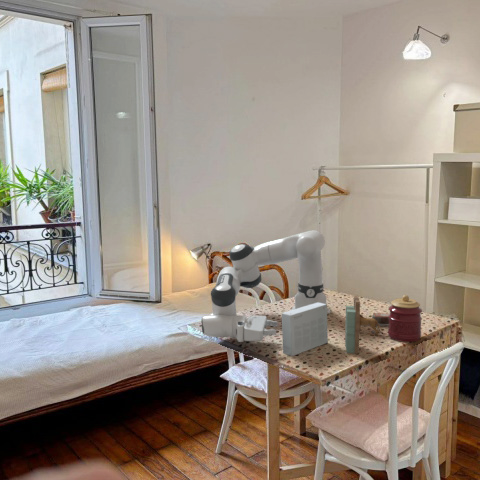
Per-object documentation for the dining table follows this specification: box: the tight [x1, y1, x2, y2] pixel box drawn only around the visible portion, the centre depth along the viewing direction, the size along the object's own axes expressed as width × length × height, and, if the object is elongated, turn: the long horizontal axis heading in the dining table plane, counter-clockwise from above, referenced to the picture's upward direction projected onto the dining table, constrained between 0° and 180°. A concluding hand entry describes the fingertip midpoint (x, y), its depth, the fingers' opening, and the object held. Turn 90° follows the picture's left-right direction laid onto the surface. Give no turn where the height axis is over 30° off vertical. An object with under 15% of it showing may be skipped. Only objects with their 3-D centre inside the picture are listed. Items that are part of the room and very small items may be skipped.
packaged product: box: [371, 312, 390, 328], centre depth 223 cm, size 18×5×10 cm
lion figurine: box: [359, 313, 385, 337], centre depth 212 cm, size 15×5×9 cm, turn 68°
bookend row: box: [344, 295, 361, 355], centre depth 193 cm, size 9×4×20 cm, turn 172°
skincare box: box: [281, 302, 329, 357], centre depth 196 cm, size 21×6×16 cm, turn 131°
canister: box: [387, 294, 423, 343], centre depth 206 cm, size 13×13×18 cm
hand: (276, 328), depth 197 cm, fingers open, 8 cm apart
